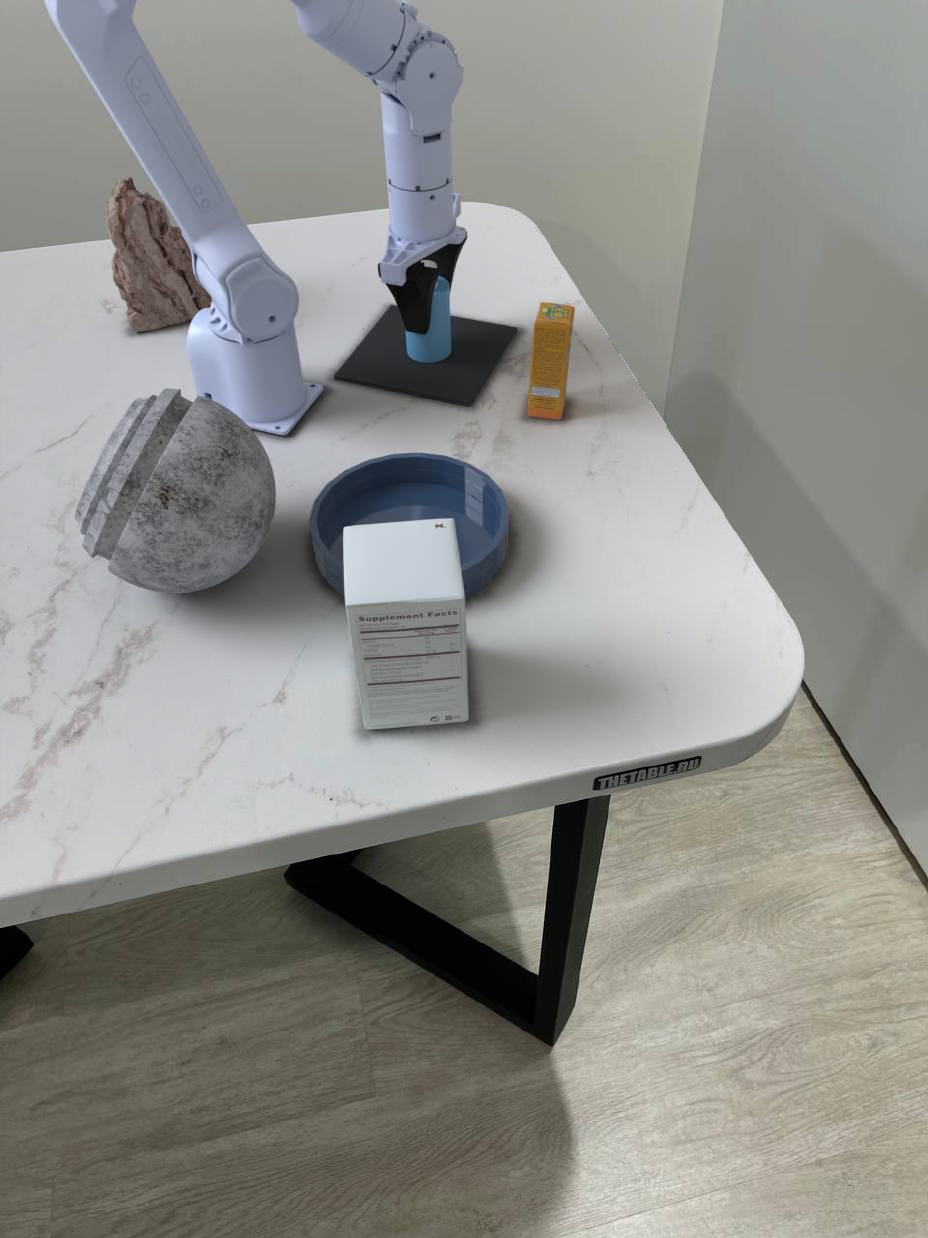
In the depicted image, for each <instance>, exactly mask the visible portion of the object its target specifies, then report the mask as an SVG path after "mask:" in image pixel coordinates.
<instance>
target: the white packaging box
mask: <svg viewBox="0 0 928 1238" xmlns="http://www.w3.org/2000/svg"><path fill="white" fill-rule="evenodd" d="M343 559H344V592H345V596H344V605H345V612H346V619H347V625H348V630H349V637H350V638H349V639H350V645H351V651H352V652H351V653H352V658H353V665H354V671H355V678H356V685H357V690H358V697H359V702H360V707H361V715H362V720H363V725H364V729H365V730H384V729H385V730H386V729H395V728H396V729H397V728H407V727H418V726H419V727H421V726H432V725H433V726H434V725H442V724H453V723H464V722H468V721H469V719H470V718H469V716H470V715H469V712H470V711H469V691H468V690H469V687H468V645H467V644H468V643H467V640H468V639H467V613H466V612H467V610H466V608H467V607H466V598H465V595H464V587H463V580H462V573H461V565H460V557H459V551H458V544H457V537H456V529H455V521H454V519H453V518H448V519H428V520H416V521H404V522H392V523H379V524H366V525H355V526H347V527H344V531H343Z"/></svg>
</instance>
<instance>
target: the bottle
mask: <svg viewBox="0 0 928 1238" xmlns="http://www.w3.org/2000/svg"><path fill="white" fill-rule="evenodd" d="M422 262H424V265H425V266H426V267H432V268H437V264H436V263H435V262H433V261H429V260H422V261H421V263H422ZM450 315H451V291H450V287H449V282H448V281H447V280H446V279H445V278H443V277H441V276H439V277H438V280H437V282H436V285H435V289H434V293H433V298H432V308H431V321H430V327H429V330H428V332H427V334H426V335H423V334H417V333H412V332H407V331H406V344H407V353H408V355H409V357H410V358H412V359H413V360H416V361H418V362H423V363H433V362H438V361H441V360H443V359H445V358H447V357H448V356H449V355H450V353H451V321H450Z"/></svg>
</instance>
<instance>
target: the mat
mask: <svg viewBox="0 0 928 1238" xmlns="http://www.w3.org/2000/svg"><path fill="white" fill-rule="evenodd" d="M450 321H451V353H450V355H449V356H448V357H447V358H445V359H443V360H441V361H438V362H433V363H423V362H418V361H416V360H413V359H412V358H410V357H409V355H408V353H407V344H406V329H405V326H404V323H403V321H402V318H401V315H400V312H399V309H398V306H397V304H391V305H390V306H389V307H388V308H387V309H386V311H384V313H383V314H382V316H381V317H380V318H379V319H378V321H377V322H376V323H375V324H374V326H373V327H372V328H371V329H370V331H368V333H367V334H366V335H365V337H364V338H363V339H362V340H361V342H359V344H358V345H357V346H356V348H355V349H354V350H353V351H352V353H351V354H350V355H349V356H348V357H347V358H346V360H345V361H344V363H343V364H342V365H341V366H340V368H339V369H338V370H336V372H335V374H334V375H333V378H334V379H333V380H338V381H342V382H347V383H353V384H356V385H361V386H367V387H372V388H376V389H382V390H386V391H391V392H396V393H402V394H405V395H411V396H415V397H421V398H425V399H431V400H435V401H440V402H445V403H450V404H454V405H460V406H464V407H471V405H472V404H473V402H474V401H475V399H476V397H477V396H478V394H479V393H480V391H481V389H482V388H483V386H484V384H485V383H486V381H487V380H488V378H489V377H490V375H491V373H492V372H493V370H494V369H495V367H496V365H497V364H498V362H499V361H500V359H501V357H502V356H503V355H504V353H505V351H506V349H507V348H508V346H509V345H510V343H511V342H512V340H513V339H514V337H515V335H516V333H517V332H518V327H516V326H511V325H507V324H506V325H505V324H502V323H501V324H500V323H495V322H489V321H483V320H479V319H473V318H466V317H462V316H456V315H451V314H450Z"/></svg>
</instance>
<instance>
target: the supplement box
mask: <svg viewBox="0 0 928 1238" xmlns="http://www.w3.org/2000/svg"><path fill="white" fill-rule="evenodd" d="M575 310H576V309H575V306H573V305H567V304H562V303H555V302H547V301H546V302H545V301H540V303H539V308H538V311H537V315H536V317H535V319H534V322H533V331H532V342H531V343H532V344H531V353H530V366H529V381H528V383H529V384H528V395H527V411H526V412H527V414H526V415H527V416H528V417H530V418H536V419H545V420H553V421H554V420H556V421H560V420H561V419H562V416H563V412H564V408H565V403H566V397H567V396H566V394H567V387H568V385H567V384H568V377H569V376H568V375H569V366H570V357H571V347H572V339H573V329H574V319H575V312H576V311H575Z"/></svg>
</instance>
